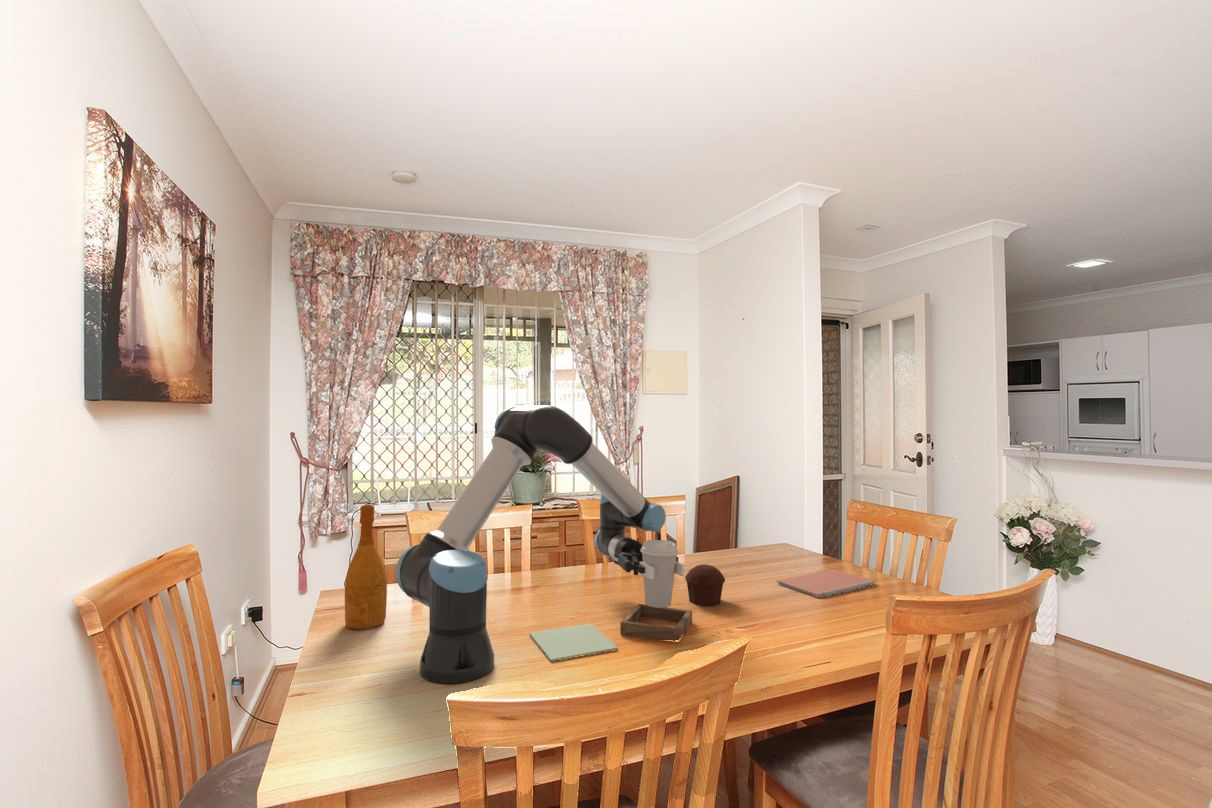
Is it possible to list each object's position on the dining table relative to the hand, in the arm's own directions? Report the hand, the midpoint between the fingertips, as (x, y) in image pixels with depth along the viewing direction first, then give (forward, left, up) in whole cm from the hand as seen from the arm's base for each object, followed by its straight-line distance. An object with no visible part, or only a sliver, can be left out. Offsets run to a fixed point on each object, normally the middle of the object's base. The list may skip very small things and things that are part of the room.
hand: (668, 572), depth 140 cm
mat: (-13, +20, -15) cm, 28 cm away
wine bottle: (-22, +73, -15) cm, 77 cm away
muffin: (+28, -3, -15) cm, 32 cm away
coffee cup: (+3, +3, -9) cm, 10 cm away
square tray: (+3, +4, -15) cm, 16 cm away
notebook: (+58, -36, -16) cm, 71 cm away
